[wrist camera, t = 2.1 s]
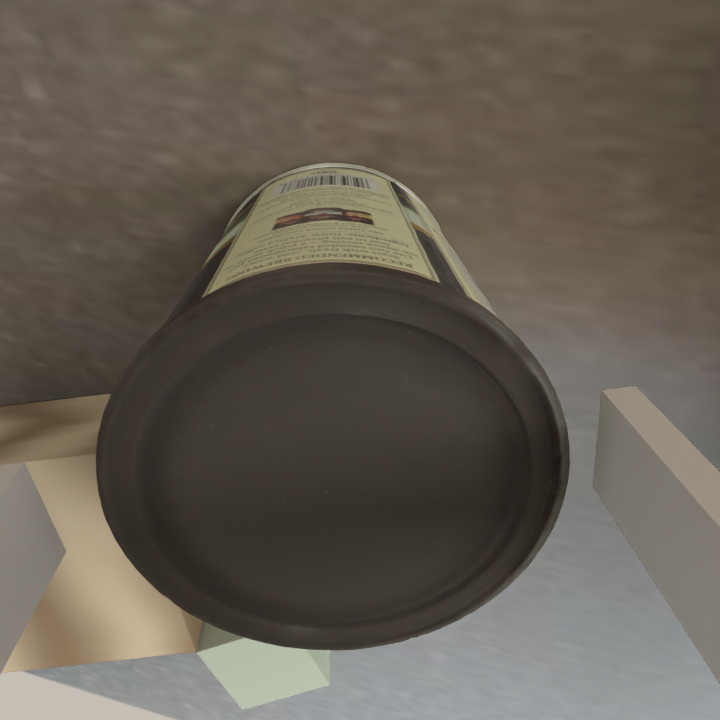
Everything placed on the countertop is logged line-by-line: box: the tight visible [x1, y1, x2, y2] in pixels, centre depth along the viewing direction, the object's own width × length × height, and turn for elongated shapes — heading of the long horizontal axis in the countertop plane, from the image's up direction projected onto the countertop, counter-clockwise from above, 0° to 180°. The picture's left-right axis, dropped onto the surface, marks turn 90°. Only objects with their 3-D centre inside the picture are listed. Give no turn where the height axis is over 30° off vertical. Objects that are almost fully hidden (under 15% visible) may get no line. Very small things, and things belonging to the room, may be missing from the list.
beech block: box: [0, 394, 203, 673], centre depth 28 cm, size 12×12×5 cm
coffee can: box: [96, 163, 570, 650], centre depth 19 cm, size 10×10×14 cm
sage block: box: [196, 622, 330, 710], centre depth 31 cm, size 5×5×5 cm
